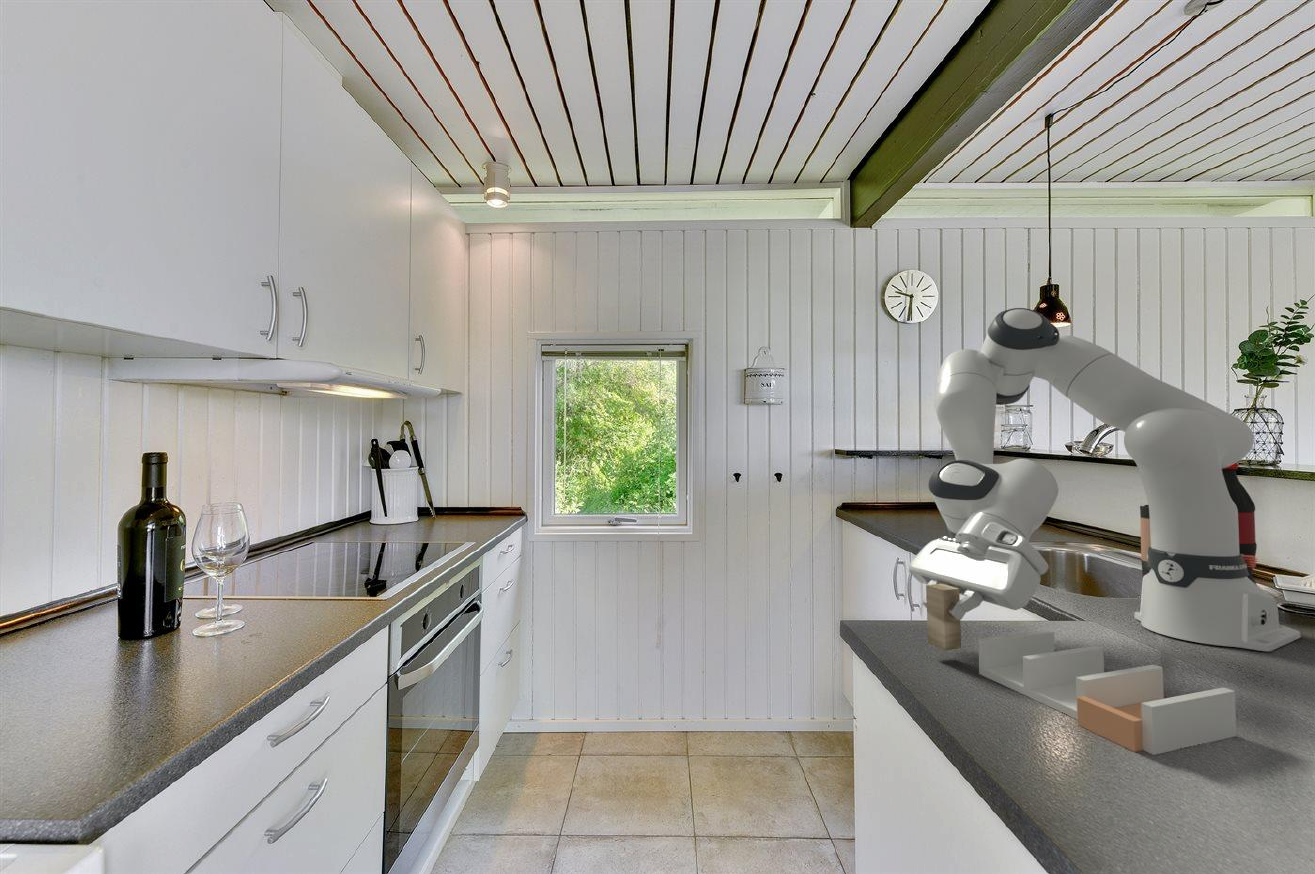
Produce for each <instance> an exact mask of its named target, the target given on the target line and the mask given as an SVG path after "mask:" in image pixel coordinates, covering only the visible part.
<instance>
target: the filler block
mask: <svg viewBox="0 0 1315 874" xmlns="http://www.w3.org/2000/svg"><path fill="white" fill-rule="evenodd" d="M925 588H926V589H925V591H926V592H925V593H926V594H925V595H926V596H925V597H926V600H927V608H926V623H927V624H926V625H927V626H926V627H927V643H928V644H929V645H933V646H934V647H936V648H939V649H941V650H943V651H951V650H959V649H962V632H961V630H962V629H961V626H962V625H961V620H957V619H955V618H952V617H950V615H949V614H948V613H947V608H948V607H949V605H950V604H951V603H952V602H953V603H957V602H958V601H960V600H961V599H960V596H961V594H959V588H955V587H952V586H948V585H945V584H933V585H927V584H925Z"/></svg>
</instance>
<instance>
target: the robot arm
mask: <svg viewBox="0 0 1315 874" xmlns="http://www.w3.org/2000/svg"><path fill="white" fill-rule="evenodd" d="M993 318H994V319H993V320H992V322H990V325H989V326H988V329H987V335H986V337H985V339H984V341H983V343H982V346H981V348H980V351H979V350H977V349H972V348H963V349H959V350H956V351H954V352H952V353H950V354H949V355H947V356H946V358H945V359H944V360H943V362H942V364H941V365H940V368H939V371H938V374H937V376H936V377H937V378H936V382H935V383H936V384H935V389H934V407H935V413H936V416H937V420H938V422H939V425H940V426H941V429H942V431H943V433H944V435H945V437H946V439H947V441H948V443H949V446H950V448H951V449H952V453H953V455H954V457H955V460H951V461H948V462H946V463H944V464H942V465H940V466H939V467H938V468H936V469H935V471H933V472H932V474H931V476H930V477H929V480H928V489H929V491H930V494H931V497H932V499H933V500H934V503H935V505H936V507H937V509H938V511H939V513H940V515H941V517H942V519H943V521H944V523H945V525H946V529H947V530H948V533H949V536H950V537H949V536H941V538H938V539H933V540H931V541H930V542H928V543H927V544H926V545H924V547H922V549H920V550H919V552H918V553H917V554H916V555H915V556H914V557H913V558H912V559H911V561H910V562H909V564H908V572H909V573H910V574H911V575H912V576H913V578H915V580H916V581H918V582H919V583H921V584H925V585H933V584H945V585H948V586H952V587H955V588H959V595H960V596H963V597H962V598H961V599H960V601H958V602H957V603H953V602H952V603H951V604H950V605H949V607H948V608H947V613H948V614H949V615H950V617H952V618H955V619H957V620H960V621H961V620H962V619H963V618H964V616H966V613H968V612H970V611H972V610H974V609H976V608H978V607H980V606H981V604H982V602H986V603H989V604H993V605H996V606H999V607H1003V608H1006V609H1010V610H1012V611H1017V610H1020V609H1022V608H1024V607H1026V606H1027V605H1028V604H1029V602H1030V600H1031V599H1032V598H1033V596H1034V595H1035V594H1036V591H1037V590H1038V587H1039V586H1040V583H1041V576H1042V575H1043V576H1044V574H1046V573H1047V572H1048V570H1049V567H1050V565H1049V564H1048V562H1047V561H1046V559H1045V558H1044V557H1043V556H1042V555H1041V553H1040V552H1039V551H1038V550H1037V549H1036V548H1035V546H1034V545H1033V544H1031V542H1030V537H1031V536H1032V534H1033V533H1034V532H1035V531H1036V530H1038V529H1039V528H1040V527H1041V526H1042V524H1043V523H1044V522H1045V520H1046V519H1047V517H1048V515H1049V514H1050V512H1051V510H1052V509H1053V506H1054V504H1055V503H1056V500H1057V498H1058V494H1059V485H1058V482H1057V480H1056V478H1055V476H1054V475H1053V474H1052V472H1050V471H1049V470H1048V469H1047V468H1046V467H1045V466H1043V465H1042V464H1040V463H1038V462H1036V461H1033V460H1031V459H1028V458H1017V459H1013V460H1011V461H1009V462H1008V461H1007V462H1004V463H995V458H994V456H995V455H994V449H995V448H994V447H995V427H996V412H997V411H996V410H997V406H1003V405H1004V406H1006V405H1011V404H1012V405H1013V404H1015V403H1017V402H1019V401H1020V400H1021V399H1022V398H1023V397H1024V395H1026V393H1027V392H1028V390H1029V388H1030V384H1031V382H1032V380H1033V379H1034V378H1038V379H1041V380H1044V381H1046V382H1048V383H1049V384H1050V385H1051V386H1052V387H1053V388H1055V389H1056V390H1057V391H1058V392H1059V393H1060V394H1061V395H1063V396H1065V397H1066V398H1067V399H1068V400H1070V401H1072V402H1073V403H1074V404H1076V405H1077V406H1079V407H1080V408H1081V409H1083V410H1085V411H1086V412H1087V413H1088V414H1090V415H1092V416H1093V417H1094V418H1096V420H1099V421H1100V422H1102V423H1103V424H1106V425H1108V426H1111V427H1113V428H1116V429H1118V430H1120V431H1122V432H1124V437H1123V444H1124V448H1125V450H1126V452H1127V454H1128V456H1129V457H1130V458H1131V459H1132V460H1133V461H1134V462H1135V464H1136V467H1137V469H1138V473H1139V476H1140V479H1141V482H1142V485H1143V489H1144V492H1145V494H1146V499H1147V500H1146V501H1147V505H1149V516H1150V537H1151V547H1149V548H1148V554H1147V559H1148V566H1149V567H1150V568H1151V570H1150V572H1149V573H1148V574H1146V575H1145V576H1144V577H1143V576H1142V584H1141V585H1142V586H1141V599H1140V611H1134V615H1133V616H1134V619H1136V620H1138V621H1140V624H1141V626H1142V627H1144V628H1146V629H1147V630H1149V631H1152V632H1155V633H1156V634H1159V635H1164V636H1167V637H1170V638H1175V639H1178V640H1183V641H1189V642H1193V643H1194V642H1195V643H1199V644H1204V645H1211V646H1212V645H1213V646H1220V647H1221V646H1222V647H1234V648H1240V649H1241V648H1242V649H1247V650H1253V651H1259V652H1260V651H1262V652H1272V651H1274V650H1276V649H1279V648H1280V647H1283V646H1285V645H1288V644H1290V643H1292V642H1294V641H1295V640H1298V639H1300V638H1302V635H1301V631H1299V630H1297V629H1295V628H1292V627H1288V626H1287V625H1282V624H1280V618H1279V608H1278V604H1277V600H1275V598H1274V597H1272V596H1271V595H1270V594H1268V593H1267V592H1266V591H1264V590H1263V589H1262V588H1261V587H1260V586H1258V585H1256V584H1257V583H1256V584H1255V583H1254V582H1252V581H1251V580H1250V579H1249V578H1248V577H1247V576H1249V573H1248V570H1247V566H1248V567H1253V569H1254V568H1256V566H1257V564H1258V560H1257V559H1258V558H1256V555H1255V556H1252V555H1243V554H1239V528H1238V509H1237V507H1236V505H1235V503H1234V502H1233V501H1232V499H1231V497H1230V495H1229V492H1228V489H1227V487H1226V483H1225V480H1224V477H1223V473H1222V469H1223V468H1226V467H1229V466H1231V465H1233V464H1235V463H1237V464H1238V462H1240V461H1241V460H1243V459H1244V458H1245V457H1246V456H1248V455H1249V454H1250V452H1251V450H1252V448H1253V446H1254V441H1255V440H1254V439H1255V438H1254V434H1253V432H1252V429H1251V428H1250V426H1249V425H1248V424H1247V423H1246V422H1245V421H1244V420H1242V419H1240V418H1239V417H1237V416H1235V415H1234V414H1230V413H1229V412H1227V411H1224V410H1223V409H1221V408H1219V407H1217V406H1215V405H1213V404H1211V403H1209V402H1207V401H1205V400H1203V399H1201V398H1199V397H1197V396H1196V395H1195V396H1194V395H1193V394H1191V393H1188V392H1187V391H1185V390H1182V389H1180V388H1178V387H1176V386H1174V385H1171V384H1169V383H1167V382H1164V381H1162V380H1160V379H1159V378H1157V377H1155V376H1152V375H1151V374H1149V373H1147V372H1146V371H1144V370H1142V369H1140V368H1139V367H1138V366H1135V365H1134V364H1132V363H1131V362H1129V361H1126V360H1125V359H1123V358H1122V357H1120V356H1118V355H1117V354H1114V353H1113V352H1111V351H1109V350H1108V349H1106V348H1104V347H1102V346H1100V345H1097V344H1095V343H1093V342H1090V341H1087V340H1086V339H1083V338H1080V337H1077V336H1074V335H1060V332H1059V329H1058V328H1057V327H1056V326H1055V325H1054V324H1053V323H1051V321H1050V320H1049V319H1048V318H1047V317H1045V316H1044V315H1043V314H1042V313H1040V312H1038V311H1036V310H1033V309H1030V308H1024V307H1013V308H1009V309H1006V310H1003V311H1000V312H999V313H997V315H996V316H995V317H993ZM921 604H922V606H924V607H925V608H926V609H927V600H926V596H925V597H924V598H923V600H922V603H921Z"/></svg>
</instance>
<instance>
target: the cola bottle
mask: <svg viewBox="0 0 1315 874" xmlns="http://www.w3.org/2000/svg"><path fill="white" fill-rule="evenodd" d="M1238 468H1239V466H1238V462H1237V463H1235V464H1233V465H1231V466H1229V467H1226V468H1223V469H1222V473H1223V477H1224V480H1225V483H1226V487H1227V489H1228V492H1229V495H1230V497H1231V499H1232V501H1233V502H1234V503H1235V505H1236V507H1237V509H1238V528H1239V554H1243V555H1252V556H1255V557H1256V554H1257V545H1258V544H1257V541H1256V518H1255V511H1256V505H1255V503H1254V501H1253V499H1252V497H1251V495H1250V494H1249V492H1248V491H1247V490H1246V488H1245V487H1244V486H1243V485H1242V483H1241V481H1240V480H1239V478H1238V475H1237V471H1238V470H1239V469H1238ZM1253 569H1254V568H1253V567H1248V566H1247V570H1248V573H1249V576H1247V577H1248V578H1249V579H1250V580H1251V581H1252V582H1254V583H1255V584H1256V585H1257V583H1256V581H1255V578H1254V575H1253V572H1254V571H1253ZM1257 586H1258V585H1257Z"/></svg>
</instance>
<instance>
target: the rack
mask: <svg viewBox="0 0 1315 874" xmlns="http://www.w3.org/2000/svg"><path fill="white" fill-rule="evenodd" d="M977 642H978V643H977V644H978V672H979V675H981V676H983V677H985V678H987V679H989V680H991V681H994V682H995V683H998V684H999V685H1002V686H1004V687H1007V688H1009V689H1010V690H1013V691H1015V692H1016V693H1019V694H1022V695H1024V696H1025V697H1028V698H1030V699H1032V700H1034V701H1037V702H1039V703H1041V704H1043V705H1045V706H1047V707H1049V708H1052V709H1053V710H1056V711H1058V712H1059V713H1060V712H1061V713H1062V712H1063V713H1062V714H1064V713H1065V714H1064V715H1066V714H1067V715H1066V716H1069V717H1071V718H1074V719H1076V720H1077V726H1078V727H1079V726H1080V727H1082V728H1084V729H1086V730H1088V731H1090V732H1092V733H1094V734H1096V735H1099V736H1101V737H1102V738H1105V739H1107V740H1109V741H1111V742H1112V743H1115V744H1117V745H1119V746H1121V747H1123V748H1125V749H1128V750H1130V751H1132V752H1134V753H1136V752H1141V751H1144V752H1146V753H1148V754H1150V755H1153V756H1156V755H1160V754H1163V753H1168V752H1172V751H1173V752H1174V751H1176V750H1177V749H1178V750H1181V749H1180V748H1182V749H1185V748H1184V747H1187V748H1189V747H1188V746H1191V747H1193V746H1192V745H1195V746H1197V745H1196V744H1200V743H1204V744H1209V743H1213V742H1216V741H1222V740H1226V739H1230V738H1234V737H1237V736H1238V735H1237V717H1236V715H1237V714H1236V712H1237V711H1236V691H1235V690H1232V689H1230V688H1227V687H1218V688H1214V689H1213V688H1212V689H1209V690H1208V689H1207V690H1203V691H1198V692H1197V691H1196V692H1193V693H1187V694H1182V695H1175V696H1172V697H1167V698H1166V697H1165V695H1164V670H1163V667H1162V666H1159V665H1156V664H1149V665H1148V664H1147V665H1143V666H1136V667H1131V668H1123V669H1117V670H1112V671H1106V672H1105V660H1104V659H1105V658H1104V656H1105V655H1104V648H1103V647H1101V646H1098V645H1092V646H1084V647H1077V648H1071V649H1064V650H1057V651H1055V632H1054V631H1052V630H1048V629H1046V630H1045V629H1043V630H1037V631H1031V632H1021V633H1015V634H1014V633H1013V634H1007V635H999V636H991V637H985V638H984V637H983V638H978V641H977ZM1164 697H1165V698H1164ZM1200 745H1201V744H1200ZM1178 750H1177V751H1178Z"/></svg>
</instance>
